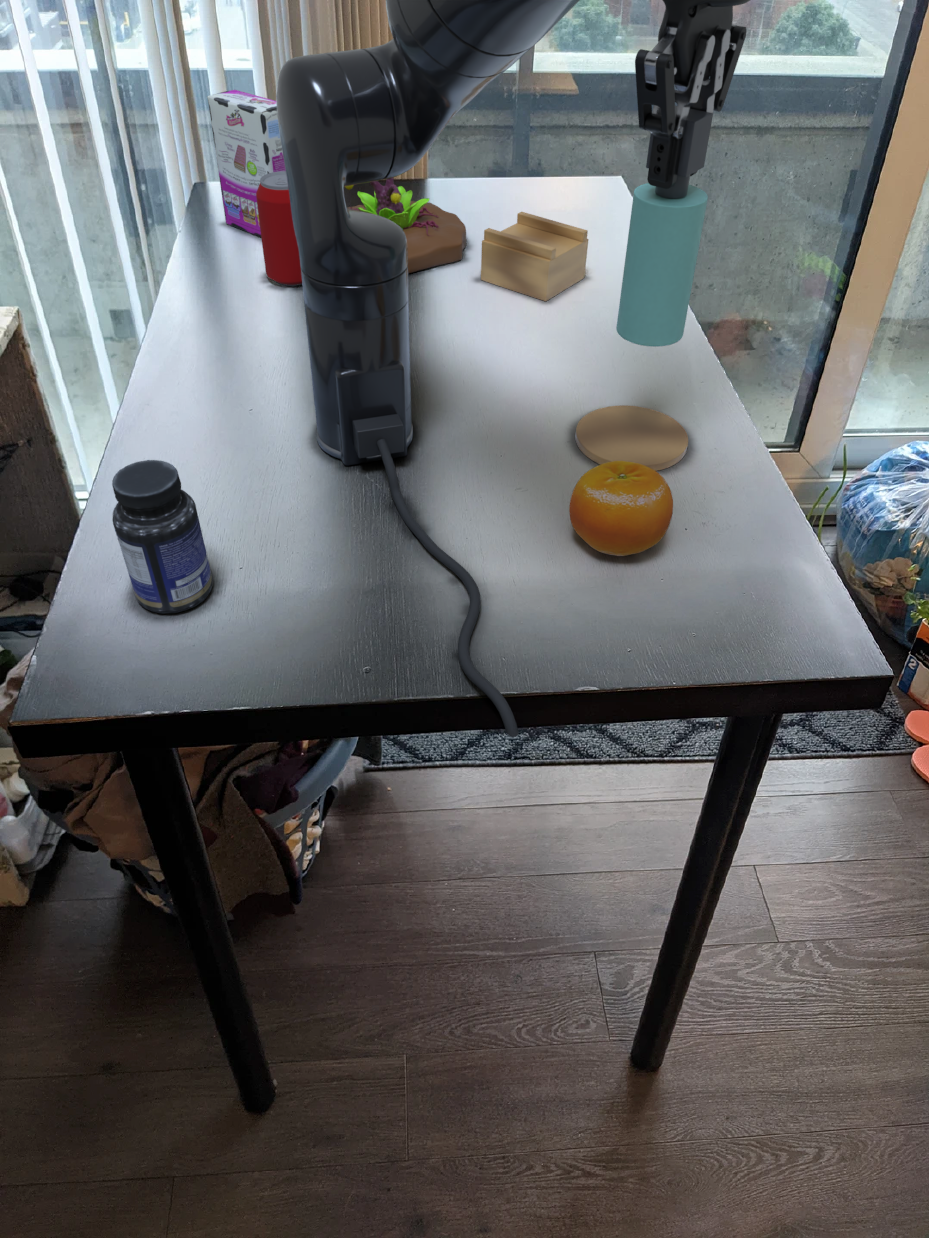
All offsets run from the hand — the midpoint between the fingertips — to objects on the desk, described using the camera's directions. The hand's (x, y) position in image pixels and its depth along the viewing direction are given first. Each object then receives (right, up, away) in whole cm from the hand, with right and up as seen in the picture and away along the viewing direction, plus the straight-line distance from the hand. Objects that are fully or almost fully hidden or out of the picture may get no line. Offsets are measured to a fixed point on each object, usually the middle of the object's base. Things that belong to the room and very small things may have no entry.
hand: (672, 178), depth 77 cm
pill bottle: (-40, -34, 0) cm, 52 cm away
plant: (-26, +15, +52) cm, 60 cm away
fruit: (-4, -29, +5) cm, 30 cm away
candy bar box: (-45, +18, +55) cm, 73 cm away
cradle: (-8, +8, +45) cm, 46 cm away
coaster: (0, -18, +17) cm, 25 cm away
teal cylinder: (0, -3, +3) cm, 4 cm away
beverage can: (-39, +7, +44) cm, 59 cm away
